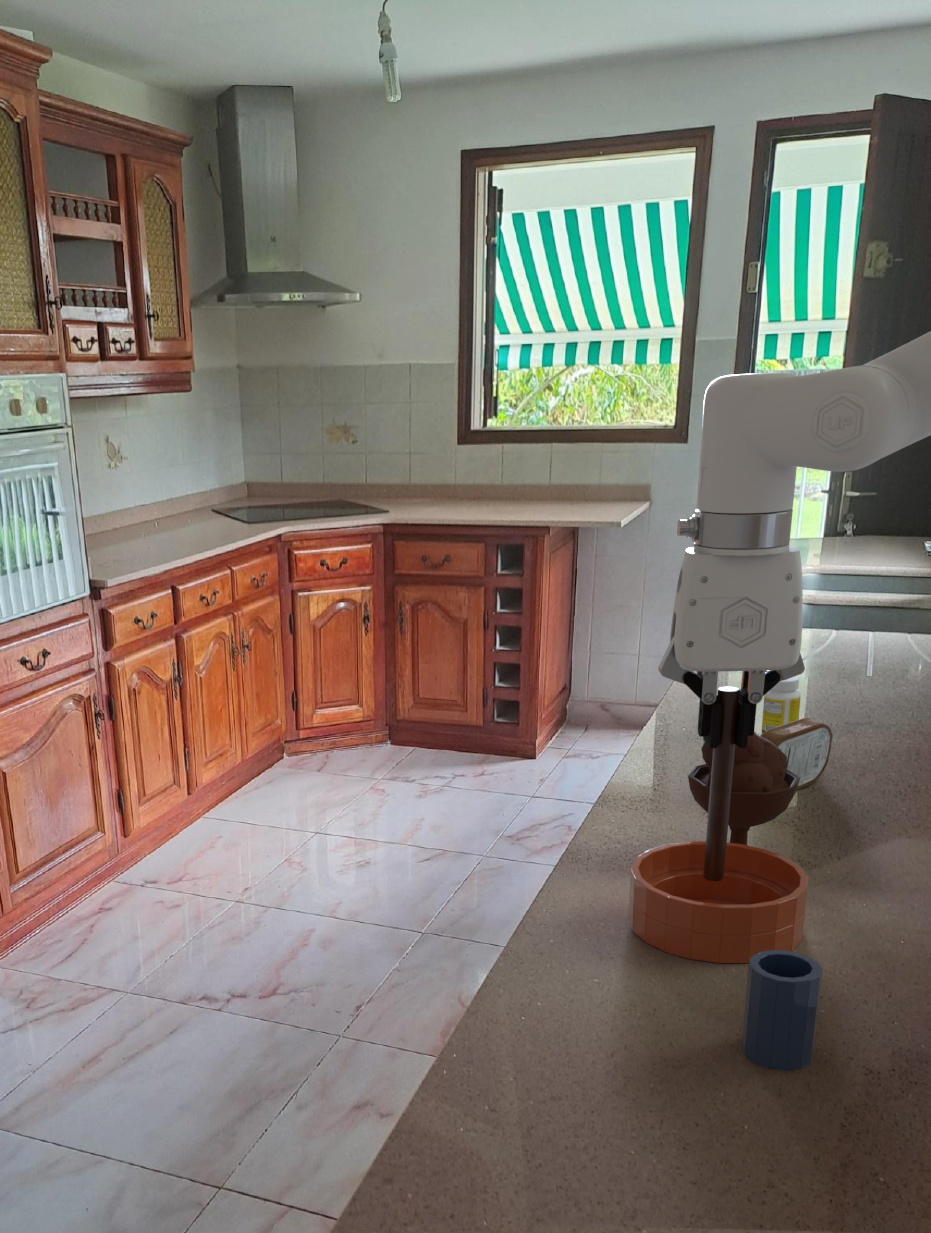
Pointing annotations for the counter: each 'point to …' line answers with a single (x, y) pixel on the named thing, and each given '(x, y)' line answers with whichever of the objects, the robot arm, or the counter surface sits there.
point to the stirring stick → (721, 786)
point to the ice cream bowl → (749, 785)
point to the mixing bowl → (717, 902)
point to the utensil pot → (781, 1009)
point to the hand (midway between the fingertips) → (724, 742)
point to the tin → (803, 747)
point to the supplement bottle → (781, 704)
